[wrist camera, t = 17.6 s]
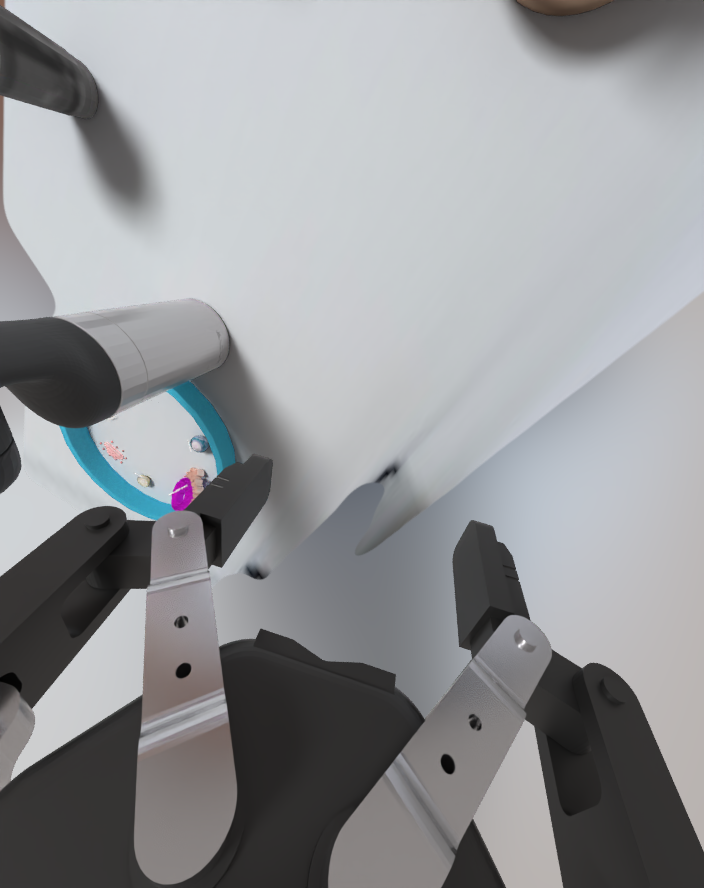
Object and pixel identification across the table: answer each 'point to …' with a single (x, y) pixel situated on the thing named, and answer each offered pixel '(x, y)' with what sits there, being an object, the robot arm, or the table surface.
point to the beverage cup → (42, 71)
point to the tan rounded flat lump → (562, 6)
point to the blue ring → (131, 496)
